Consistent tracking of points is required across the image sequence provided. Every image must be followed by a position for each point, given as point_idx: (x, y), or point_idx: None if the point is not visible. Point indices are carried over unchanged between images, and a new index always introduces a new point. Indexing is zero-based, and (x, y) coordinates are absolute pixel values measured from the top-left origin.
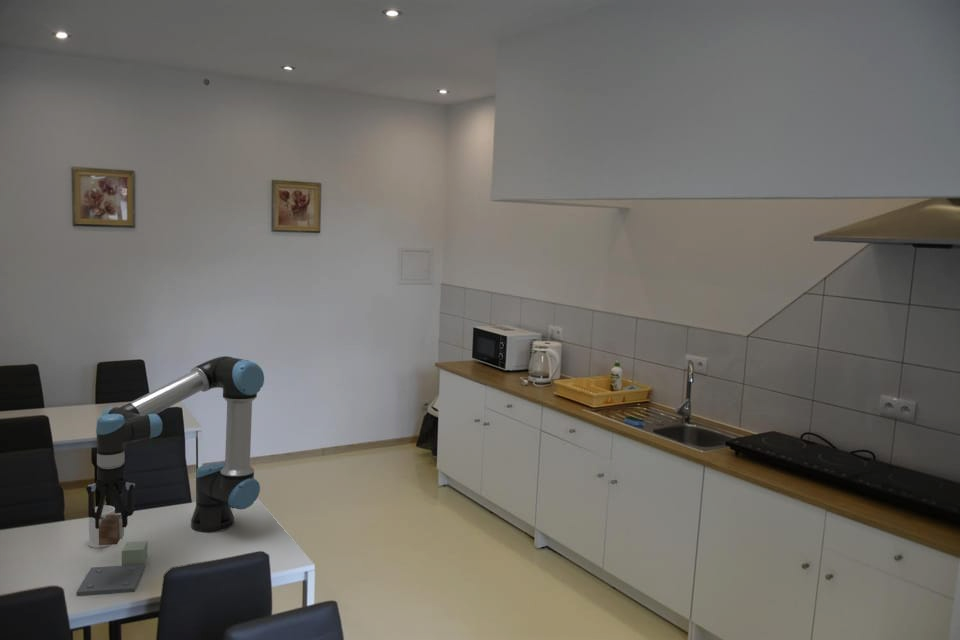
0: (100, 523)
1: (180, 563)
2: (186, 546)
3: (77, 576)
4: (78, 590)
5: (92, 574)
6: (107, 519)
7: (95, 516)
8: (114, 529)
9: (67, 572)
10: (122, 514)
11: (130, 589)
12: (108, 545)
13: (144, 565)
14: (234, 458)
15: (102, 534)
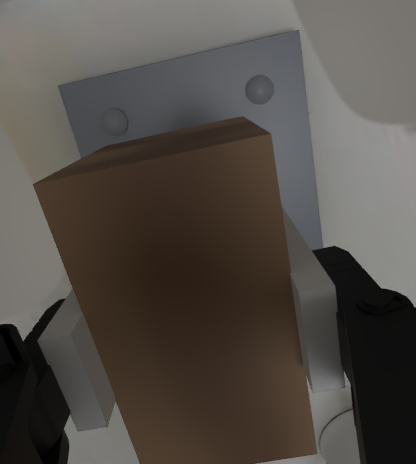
0: (299, 264)
1: (18, 322)
2: (68, 432)
3: (356, 205)
4: (295, 46)
5: (295, 198)
6: (254, 354)
7: (408, 310)
8: (80, 167)
9: (406, 234)
10: (3, 392)
11: (76, 82)
12: (332, 421)
13: None
14: None
15: (216, 130)
